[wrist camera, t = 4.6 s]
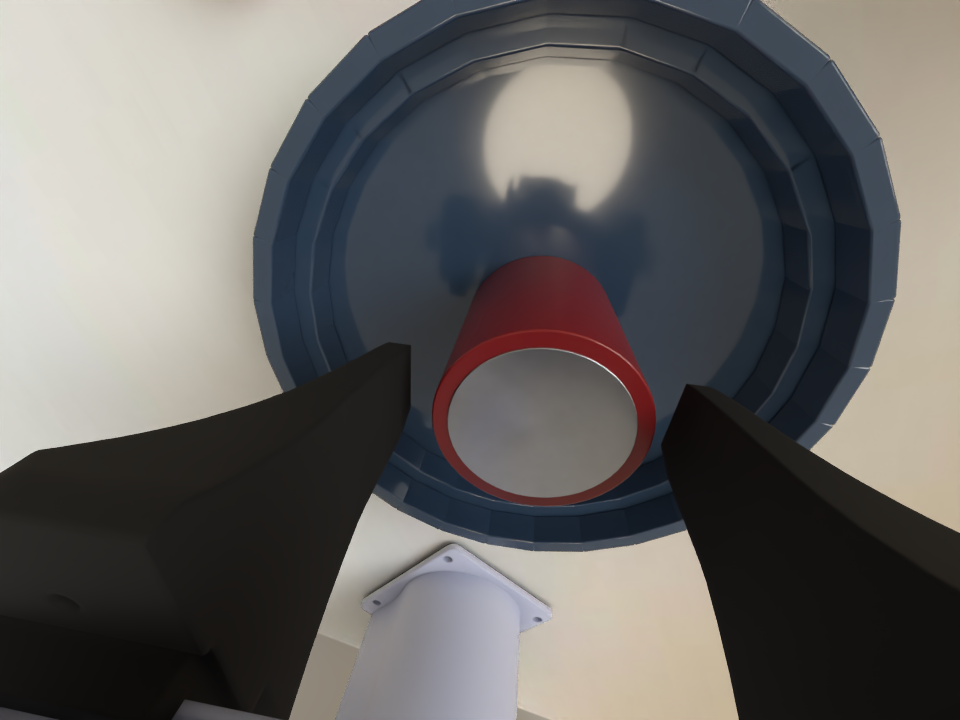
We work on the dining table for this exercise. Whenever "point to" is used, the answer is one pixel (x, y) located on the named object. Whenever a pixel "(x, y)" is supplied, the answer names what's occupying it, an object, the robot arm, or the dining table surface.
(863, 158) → the dark blue round plate
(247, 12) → the dining table surface
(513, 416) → the can
